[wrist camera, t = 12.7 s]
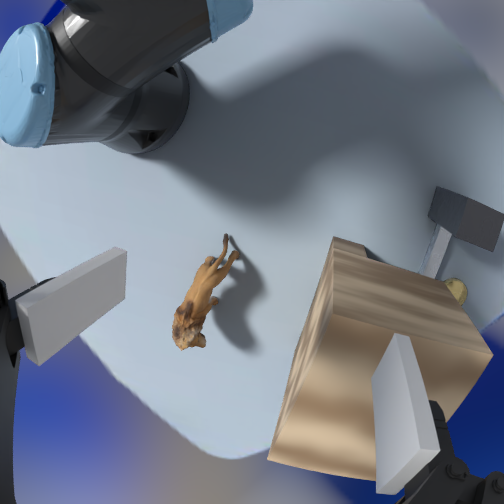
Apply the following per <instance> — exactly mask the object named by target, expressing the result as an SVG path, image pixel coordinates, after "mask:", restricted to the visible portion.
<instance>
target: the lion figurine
mask: <svg viewBox="0 0 504 504" xmlns="http://www.w3.org/2000/svg"><path fill="white" fill-rule="evenodd" d="M228 241H229V238H228V234H224V239H223V244H224V249H223V252H222V254H221V255H220V257H219V258H218V259H217V260H216V261H215V263H214V264H213V262H214V259H215V258H214V257H213V256H212V257H211V256H209V257H207V258H206V259H205V263H204V264H202V265H201V266H200V268H199V269H198V271H197V273H196V276H195V278H194V282H193V284H192V286H191V287H190V289H189V290H188V292H187V294H186V296H185V300H184V302H183V303H182V304H181V306H179V307H178V308H177V310H176V313H175V314H174V318H175V319H174V321H173V325H172V329H173V331H172V333H173V336H172V338H173V340H174V341H175V344H176V345H177V346H178V347H179V348H180V349H181V351H182V350H184V349H186V348H188V347H194V346H198V347H201V348H204V347H205V346H206V339H205V336H204V335H203V334H201V333H200V331H201V330H202V328H203V327H202V325H203V323H204V321H205V319H206V315H207V313H208V312H209V311H210V310H211V307H212V305H216V304H218V300H217V298H216V297H214V296H211V294H212V290H213V288H214V287H216V286H217V285H218V284H219V283H220V282H221V281H222V280H223V279H224V278H225V277H226V275H227V274H228V272H229V270H230V267H231V265H232V263H233V261H234V260H235V259H238V258H239V252H238V251H236V250H234V251H232V253H231V255H230V256H229V258H228V261H227V262H226V264H225V265H224V266H223V267H221V268H219V269H217V268H218V266H219V265H220V263H221V262H222V260H223V259H224V257H225V255H226V253H227V248H228ZM212 264H213V265H212ZM210 296H211V297H210Z"/></svg>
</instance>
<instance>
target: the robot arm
mask: <svg viewBox="0 0 504 504" xmlns="http://www.w3.org/2000/svg"><path fill="white" fill-rule="evenodd" d="M61 1H62V2H64V3H65V4H66V5H67V6H66V7H65V8H64V9H63V10H62V11H61V12H60V13H59V14H58V15H57V16H56V17H55V18H54V19H53V20H52V21H51V22H50V23H49V24H48V25H47V26H44V25H43V24H41V23H34V24H28V25H27V26H22V27H20V28H19V29H18V30H16V31H15V32H14V33H13V35H12V36H11V37H10V38H9V40H8V41H7V42H6V44H5V46H4V48H3V50H2V52H1V54H0V138H1V139H2V140H3V141H4V142H5V143H8V144H9V145H11V146H14V147H32V148H39V147H41V146H45V145H56V144H68V143H83V142H100V143H102V144H104V145H106V146H108V147H110V148H112V149H114V150H116V151H119V152H123V153H144V152H149V151H152V150H154V149H156V148H158V147H160V146H162V145H163V144H164V143H166V142H167V141H168V140H169V139H170V138H171V137H172V136H173V135H174V134H175V133H176V131H177V130H178V128H179V127H180V125H181V123H182V121H183V119H184V117H185V114H186V111H187V108H188V103H189V84H188V80H187V77H186V74H185V72H184V70H183V68H182V67H181V65H180V64H179V63H178V62H179V61H180V60H182V59H183V58H185V57H187V56H188V55H190V54H192V53H193V52H195V51H197V50H198V49H200V48H202V47H203V46H205V45H207V44H209V43H210V42H212V43H214V42H216V41H217V39H218V37H220V36H221V35H223V34H225V33H226V32H228V31H230V30H231V29H233V28H235V27H237V26H238V25H240V24H242V23H243V22H245V21H246V20H247V19H248V18H249V17H250V15H251V13H252V10H253V0H61ZM126 263H127V251H126V250H123V249H120V248H118V247H114V248H112V249H110V250H108V251H106V252H104V253H102V254H100V255H98V256H96V257H94V258H92V259H90V260H88V261H86V262H84V263H82V264H80V265H78V266H76V267H74V268H73V269H71V270H69V271H67V272H65V273H63V274H61V275H59V276H58V277H54V278H50V279H46V280H44V281H42V282H40V283H38V284H37V285H35V286H33V287H31V288H30V289H27V290H25V291H24V292H22V293H20V294H18V295H16V296H15V297H13V298H11V299H10V300H8V295H7V289H6V284H5V282H4V281H2V280H0V504H16V500H15V496H14V484H13V483H14V482H13V424H14V423H13V422H14V407H15V397H16V387H17V379H18V371H19V364H20V351H19V350H20V349H22V348H23V347H24V346H25V350H26V354H27V358H29V359H30V360H31V361H33V362H34V363H35V364H37V365H38V366H40V365H41V364H43V363H44V362H45V361H46V360H47V359H49V358H50V357H51V356H52V355H53V354H55V353H56V352H57V351H59V350H60V349H61V348H62V347H64V346H65V345H66V344H67V343H69V342H70V341H71V340H72V339H74V338H75V337H76V336H77V335H79V334H80V333H81V332H83V331H84V330H85V329H86V328H88V327H89V326H90V325H92V324H93V323H94V322H95V321H97V320H98V319H99V318H101V317H102V316H103V315H104V314H106V313H107V312H108V311H110V310H111V309H112V308H114V307H115V306H116V305H117V304H119V303H120V302H121V301H123V300H124V299H125V285H126ZM371 384H372V395H373V408H374V423H375V444H376V493H381V494H393V495H395V494H396V493H398V492H399V491H400V490H401V489H402V488H403V487H404V488H405V496H404V497H402V498H401V499H400V500H399V501H397V502H396V503H395V504H504V474H503V473H501V472H498V471H495V472H491V473H490V474H489V475H488V476H487V477H486V478H485V479H483V478H480V477H477V476H474V475H471V474H470V472H469V468H468V467H467V465H466V464H465V463H464V462H463V461H462V460H461V459H459V458H457V457H455V454H454V450H453V446H452V442H451V438H450V434H449V431H448V430H447V429H448V427H447V423H446V422H445V421H446V419H445V416H444V412H443V410H442V408H441V407H440V406H439V404H438V403H437V401H432V400H428V397H427V393H426V390H425V386H424V383H423V379H422V376H421V372H420V369H419V366H418V362H417V359H416V356H415V353H414V350H413V347H412V344H411V341H410V338H409V336H405V335H401V334H397V333H394V335H393V337H392V339H391V341H390V343H389V345H388V347H387V349H386V351H385V353H384V355H383V357H382V359H381V361H380V363H379V365H378V367H377V368H376V370H375V372H374V374H373V376H372V377H371Z"/></svg>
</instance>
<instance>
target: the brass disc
mask: <svg viewBox="0 0 504 504" xmlns="http://www.w3.org/2000/svg"><path fill="white" fill-rule="evenodd" d="M444 283H445V285H446V286H447V287H448V289H449V290H450V291H451V293H452V294H453V295H454V297H455V298H456V300H457V301H458V302H459V304H460V305H461V306H462V304H463V303H464V302H465V300H466V297H467V288H466V286H465V285H464V284H463V283H462V281H461V280H459V279H457V278H450V279H447V280H445V281H444Z"/></svg>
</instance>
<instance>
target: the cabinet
mask: <svg viewBox="0 0 504 504" xmlns="http://www.w3.org/2000/svg"><path fill="white" fill-rule="evenodd" d="M394 333H397V334H401V335H405V336H409V338H410V341H411V344H412V347H413V350H414V353H415V356H416V359H417V362H418V366H419V369H420V372H421V376H422V379H423V383H424V386H425V390H426V393H427V397H428V400H432V401H437V403H438V404H439V406H440V407H441V408H442V410H443V412H444V416H445V419H446V421H445V422H446V423H447V421H448V420H449V419H450V417H451V416H452V415H453V414H454V412H455V411H456V410H457V408H458V407H459V406H460V404H461V403H462V402H463V400H464V399H465V397H466V396H467V395H468V393H469V392H470V390H471V389H472V387H473V386H474V385H475V383H476V382H477V380H478V378H479V377H480V375H481V374H482V372H483V371H484V369H485V368H486V366H487V364H488V363H489V361H490V360H491V358H492V356H493V354H492V352H491V350H490V349H489V347H488V346H487V344H486V343H485V341H484V340H483V338H482V336H481V335H480V333H479V332H478V330H477V329H476V327H475V326H474V324H473V323H472V321H471V320H470V318H469V317H468V315H467V314H466V312H465V311H464V309H463V308H462V307H461V305H460V304H459V302H458V301H457V300H456V298H455V297H454V295H453V294H452V293H451V291H450V290H449V289H448V287H447V286H446V285H445V283H444V282H443V281H439V280H436V279H433V278H430V277H427V276H424V275H421V274H417V273H414V272H411V271H408V270H405V269H401V268H398V267H395V266H392V265H388V264H385V263H382V262H379V261H375V260H372V259H369V258H367V255H366V252H365V249H364V245H361V244H357V243H354V242H351V241H347V240H344V239H341V238H337V237H334V236H333V239H332V242H331V246H330V249H329V252H328V255H327V259H326V262H325V265H324V268H323V271H322V274H321V277H320V280H319V284H318V287H317V290H316V293H315V296H314V299H313V301H312V304H311V307H310V310H309V313H308V316H307V319H306V322H305V325H304V327H303V330H302V333H301V336H300V339H299V341H298V344H297V347H296V349H295V353H294V357H293V361H292V366H291V370H290V374H289V378H288V382H287V386H286V391H285V395H284V399H283V402H282V406H281V410H280V414H279V418H278V422H277V426H276V429H275V433H274V437H273V440H272V444H271V447H270V451H269V455H268V458H267V460H271V461H274V462H278V463H282V464H286V465H290V466H295V467H298V468H303V469H307V470H313V471H317V472H322V473H327V474H333V475H339V476H345V477H351V478H358V479H365V480H373V481H376V444H375V423H374V408H373V395H372V384H371V377H372V376H373V374H374V372H375V370H376V368H377V367H378V365H379V363H380V361H381V359H382V357H383V355H384V353H385V351H386V349H387V347H388V345H389V343H390V341H391V339H392V337H393V335H394Z"/></svg>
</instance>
